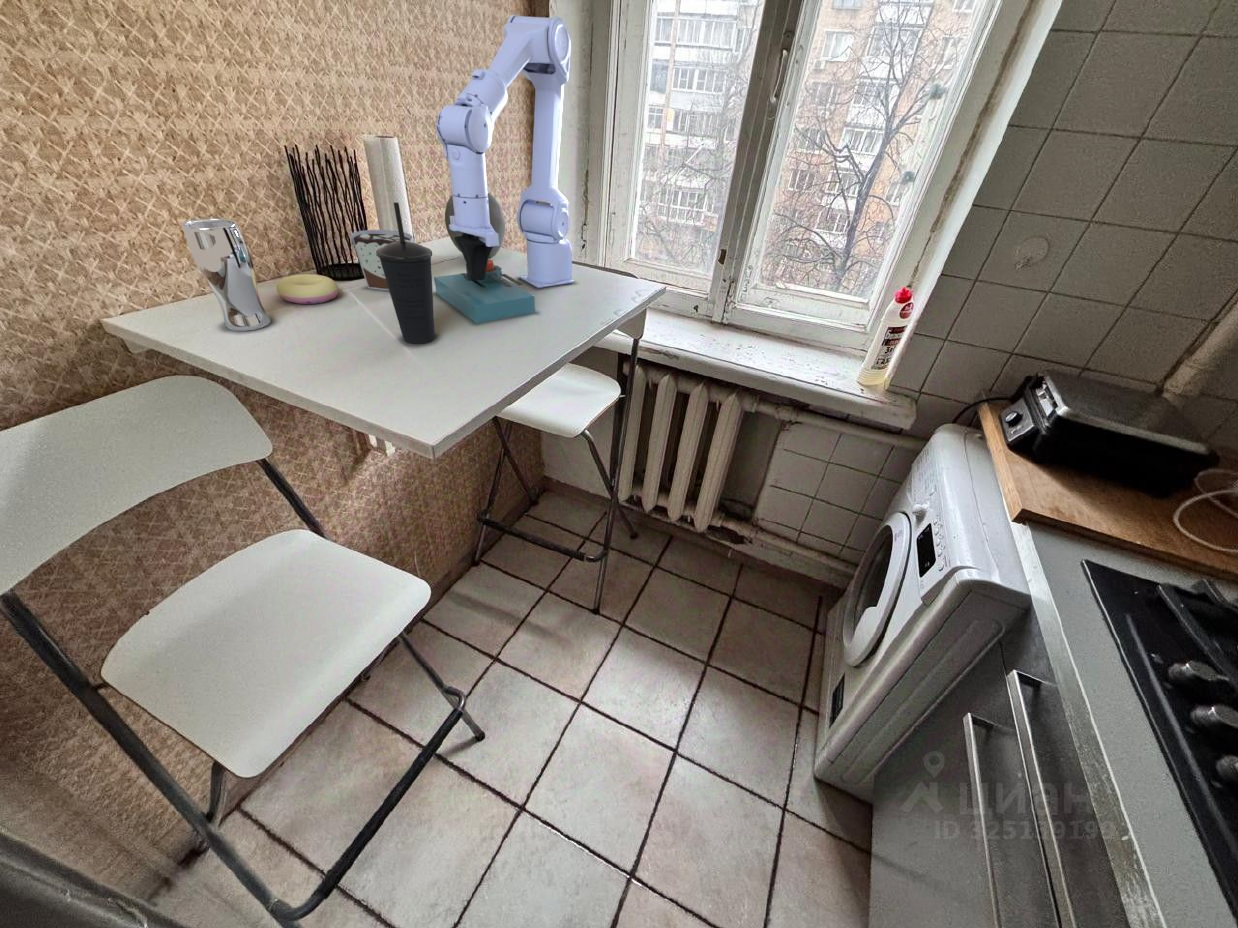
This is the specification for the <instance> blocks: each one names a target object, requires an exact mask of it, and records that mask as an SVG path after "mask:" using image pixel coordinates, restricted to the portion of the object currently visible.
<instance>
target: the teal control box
mask: <svg viewBox="0 0 1238 928" xmlns="http://www.w3.org/2000/svg"><path fill="white" fill-rule="evenodd" d="M464 273H465V274H466V275H467V272H464ZM459 274H461V273H456V274H448V275H440V276H439V275H438V276H434V277H433V279H434V280H433V281H434V286H435V293H436V294H437V295H438V296H439V297H441V298H442V299H443V300H444V301H446V302H448V304H450V305H451V306H453V307H454V308H456V309H457V310H458V311H459V312H461V313H462V314H464V316H466V317H467V318H469V319H471V321H473V322H474V323H476V324H479V323H485V322H491V321H496V320H502V319H507V318H512V317H518V316H523V315H529V314H536V313H535V312H536V308H535V307H536V305H535V304H536V303H535V295H533V294H532V293H530V292H528V291H526V290H524V289H523V288H521V287H519V285H517V284H515V283H513V282H512V281H510V280H508V279H507V278H505V277H503V276H502V275H500V274H503V268H502V267H500V266H499V265H495V264H494V271H489V272H486V274H485V279H484V280H478V281H477V282H479V283H481V284H482V285H484V286H485V287H480V286H479V285H477V284H476V283H474V282H473V281H468V280H467V279H465V278H464V276H463V275H462V274H461V275H459ZM455 275H458V276H455ZM492 275H494V276H496V277H497V278H499V279H501V280H502V281H504V282H506V283H508V284H509V285H511V286H512V287H506V286H504V285H503V284H501V283H499V282H498V281H496V280H494V279H493V278H491V277H489V276H492Z"/></svg>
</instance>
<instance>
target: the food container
mask: <svg viewBox="0 0 1238 928" xmlns="http://www.w3.org/2000/svg"><path fill="white" fill-rule="evenodd" d="M404 237H405V241H408V242H413V243H416V241H415V239H414V238H413V236H412V234H410V233H408V232H405V231H404ZM349 240H350V245H351V246H354V249H355V253H356V255H357V258H358V262H359V265H360V267H361V270H362V274H363V276H364V280H365V284H366V286H367V289H372V290H373V289H375V290H381V291H389V288H388V285H387V281H386V278H385V275H384V271H383V268H382V264H381V261H380V258H379V257H378V256H377V254H376V251H377V250H378V249H379V248H382V247H384V246H385V245H387V244H390V243H393V242H398V241H400V237H399V231H398V230H392V229H366V230H359V231H355V232H351V233H350V239H349Z"/></svg>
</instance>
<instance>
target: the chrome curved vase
mask: <svg viewBox="0 0 1238 928" xmlns="http://www.w3.org/2000/svg"><path fill="white" fill-rule="evenodd" d="M180 226H181V228H182V230H183V231H182V232H183V234H184V238H185V240H186V243H187V246H188V249H189V251H190V254H191V256H192V258H193V260H194V263H195V265H196V267H197V269H198V271H199V272H200V273H201V276H202V277H203V279H204V280H205V282H206V283H207V285H208V286H209V288H210V289H211V291H212V293H213V295H214V296H215V297H216V299H217V302H218V303H219V306H220V308H221V311H222V317H223V322H224V325H225V327H226V328H227V329H229V330H230V331H235V332H245V331H246V332H247V331H254V330H260V329H263V328H265V327H267V326H269V325H270V324H271V318H270V316H269V315H268V313H267V311H266V309H265V307H264V306H263V304H262V302H261V299H260V295H259V290H258V286H257V279H256V273H255V267H254V263H253V259H252V256H251V253H250V249H249V248H248V244H247V242H246V241H245V240H246V239H245V238H244V236H243V234H242V231H241V229H240V227H239V225H238V222H237V221H236V220H233V219H229V218H228V219H227V218H198V219H191V220H186V221H184V222H182V223H181V224H180Z"/></svg>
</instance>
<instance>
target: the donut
mask: <svg viewBox="0 0 1238 928" xmlns="http://www.w3.org/2000/svg"><path fill="white" fill-rule="evenodd" d="M275 287H276V288H275V289H276V292H277V295H278V296H279V297H281V299H283V300H284V301H287V302H290V303H293V304H301V305H314V304H321V303H322V304H323V303H326V302H329V301H331V300H334V299H335V298H336V297H337V296H338V293H339V286H338V283H337V282H336V281H335V280H333V279H332V278H330V277H328V276H325V275H321V274H315V273H313V274H311V273H305V274H303V273H302V274H294V275H290V276H285V277H283V278H281V279H280V280H279V281H278V282H277V283H276V286H275Z"/></svg>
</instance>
